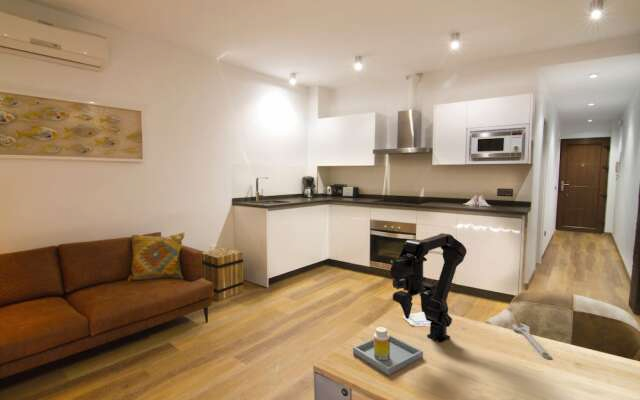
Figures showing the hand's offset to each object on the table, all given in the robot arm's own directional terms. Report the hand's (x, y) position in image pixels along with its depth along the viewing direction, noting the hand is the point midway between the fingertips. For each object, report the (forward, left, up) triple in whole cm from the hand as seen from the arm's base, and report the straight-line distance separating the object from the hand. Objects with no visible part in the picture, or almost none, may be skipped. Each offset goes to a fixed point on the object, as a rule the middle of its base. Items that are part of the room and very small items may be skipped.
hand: (415, 315), depth 128 cm
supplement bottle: (+15, -3, -13) cm, 20 cm away
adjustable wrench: (-39, +23, -14) cm, 47 cm away
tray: (+12, -3, -13) cm, 18 cm away
